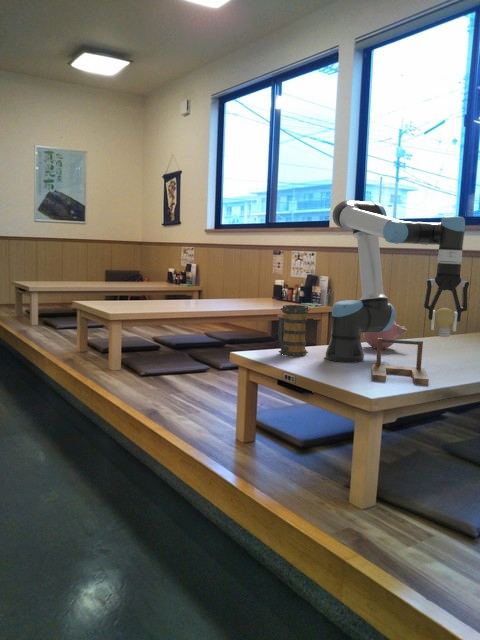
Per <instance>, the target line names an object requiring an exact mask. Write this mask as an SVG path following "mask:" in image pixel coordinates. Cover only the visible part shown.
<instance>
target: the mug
mask: <svg viewBox="0 0 480 640" xmlns="http://www.w3.org/2000/svg"><path fill="white" fill-rule="evenodd" d="M279 309H280V310H281V311H282V313H281V312H280V313H278V315H276V316H277V318H278V329H277V337H278V338H277V341H278V345H279V348H280V350H278V353H280V355H282V354H283V355H282V356H284V355H287V356H286V357H290V356H293V357H294V358H296V357H297V358H300V357H305V356H307V354H309V351H307V349H306V344H307V341H306V334H307V331H306V323H307V322H308V319H307V316H308V314H309V312H310V311H311V309H310V308H309V306H306V305H299V304H298V305H297V304H284V305H282V307H281V308H279ZM293 357H292V358H293Z"/></svg>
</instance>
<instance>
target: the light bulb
mask: <svg viewBox="0 0 480 640" xmlns="http://www.w3.org/2000/svg"><path fill="white" fill-rule="evenodd" d="M453 321H454V311H453V310H452V309H450V308H448V307H441V308H439V309H437V310H435V322H436V324H437V325H438V326H439V327H438V336H439V337H440V338H448V337H451V325H453Z"/></svg>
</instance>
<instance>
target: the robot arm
mask: <svg viewBox="0 0 480 640" xmlns="http://www.w3.org/2000/svg"><path fill="white" fill-rule="evenodd" d="M387 215H388V214H387V211H386V209H385V207H384V206H383V205H382V204H381V203H379V202H374V201H365V200H363V201H360V200H353V199H352V200H351V199H349V200H348V199H347V200H343V201H341V202H339V203H338V204H337V205H335V207H334V209H333V211H332V221H333V223H334V224H335V226H337V227H338V228H341V229H344V230H352V236H353V237H354V238H355V239H356V240H357V252H358V253H357V254H358V263H359V274H360V285H361V287H360V288H361V297H360V298H359V299H358V300H357V299H351V300H348V299H346V300H340V301H336V302H335V303H334V304H333V305H332V311H331V327H330V328H331V329H330V340H329V343H328V346H327V348H326V351H325V359H326V360H329V361H333V362H339V363H362V362H363V361H364V360H365V359H364V358H365V354H364V350H363V345H362V342H361V339H362V338H361V337H362V333H363V332H381V331H387V330H389V329H390V328H391V327H392V325H393V324H394V321H395V322H396V314H397V313H396V309H395V307H394V305H393V304H392V303H390V302H389V298H388V296H386V295H385V293H384V284H383V273H382V271H383V270H382V261H381V250H380V249H381V248H380V239H379V238H382V239H385V242H388V243H390V244H409V245H410V244H411V245H426V246H427V245H430V246H433V245H434V246H435V245H437V246H438V255H437V262H438V263H437V264H436V265H437V266H436V275H435V276H434V278H430V279H426V292H425V298H424V303H423V307H424V309H426V310H428V315H427V316H428V320H429V321H431V323H430V329H431V331H435V322H436V321H435V313H436V310H435V306H436V304H437V302H438V300H439V298H440V295H441V294H442V293H443V291H450V292H451V294H452V297H453V301H454V305H455V308H456V309H455V310H456V311H453V313H454V321H453V322H452V329H451V330H452V331H453V332H456V331H457V322H458V323H459V322H460V321H461V317H462V316H461V315H462V312H466V311H468V289H469V286H470V282H469V281H465V280H462V278H461V273H462V272H461V271H462V270H461V269H462V265H461V263H462V260H463V247H464V241H465V240H464V238H465V231H466V229H465V228H466V219H465V218H464V217H463V216H455V215H454V216H450V215H449V216H447V215H446V216H443V217H442V218H441V221H440V222H423V221H406V220H400V219H397V218H393V217H389V216H387ZM434 283H436V285H437V289H436V292H435V294H434V297H433V299H432V301H431V303H430V299H431V293H432V287H433V285H434ZM459 285H461V286H460V287H462V294H461V295H462V298H461V299H462V300H461V302H462V303H461V304H462V305H461V304H460V300H459V296H458V292H457V288H458V286H459ZM429 304H430V305H429ZM461 306H462V307H461Z"/></svg>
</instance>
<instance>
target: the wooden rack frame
mask: <svg viewBox="0 0 480 640" xmlns="http://www.w3.org/2000/svg"><path fill="white" fill-rule="evenodd" d="M382 342H385V343H394V344H400V345H402V344H403V345H413V346H414V345H416V346H417V351H416V365H415V367H414V366H413V367H412V366H401V365H400V366H399V365H388V364H387V365H386V364H381V363H382V350H383V349H382ZM423 345H424V340H416V341H415V340H403V339H397V340H390V339H382V338H378V344H377V348H376V361H375V364H374V363H373V364H372V370H371V371H372V372H371V373H372V375H371V380H372V381H374V382H384V383H386V382H387V374H389V375H398V376H399V375H402V376H411V379H412V382H413V385H421V386H429V381H430V379H429V377H428V374H427V371H426V369H425V367H422V359H423V358H422V357H423Z"/></svg>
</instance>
